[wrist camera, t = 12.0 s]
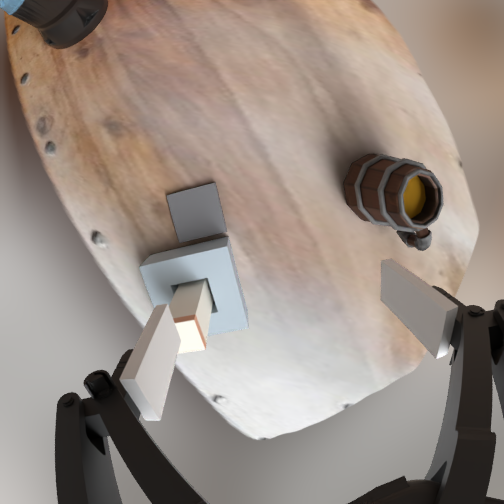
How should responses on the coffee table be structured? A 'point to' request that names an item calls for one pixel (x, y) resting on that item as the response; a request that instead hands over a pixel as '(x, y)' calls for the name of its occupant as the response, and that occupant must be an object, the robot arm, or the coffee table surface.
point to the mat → (197, 212)
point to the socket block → (199, 267)
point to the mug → (395, 196)
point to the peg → (192, 314)
